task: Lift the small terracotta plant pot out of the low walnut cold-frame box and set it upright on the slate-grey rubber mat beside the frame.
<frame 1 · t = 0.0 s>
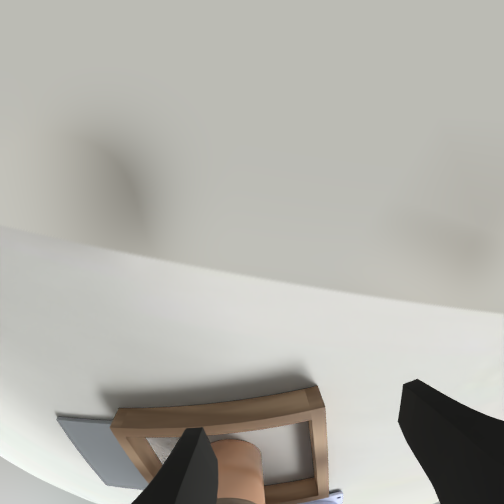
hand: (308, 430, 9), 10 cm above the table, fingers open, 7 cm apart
mat: (110, 456, 22), on the table
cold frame: (231, 457, 22), on the table
terracotta pot: (231, 494, 18), in the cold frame
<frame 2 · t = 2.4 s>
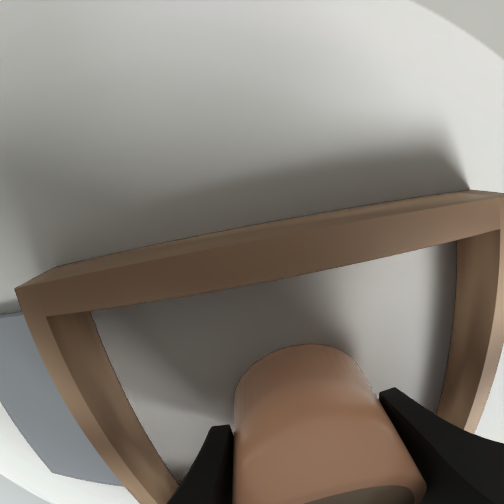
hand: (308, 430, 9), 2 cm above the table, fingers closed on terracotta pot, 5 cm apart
mat: (47, 411, 11), on the table
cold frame: (300, 399, 11), on the table
terracotta pot: (323, 485, 6), in the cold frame, touching gripper
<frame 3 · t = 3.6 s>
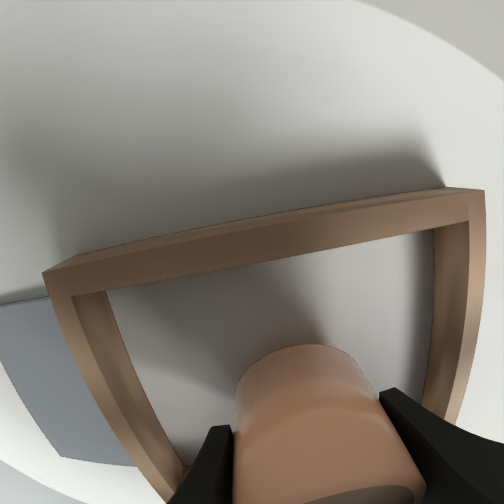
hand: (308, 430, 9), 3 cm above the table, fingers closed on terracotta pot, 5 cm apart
mat: (60, 393, 12), on the table
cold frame: (293, 374, 12), on the table
terracotta pot: (323, 485, 6), point 6 cm above the table, touching gripper
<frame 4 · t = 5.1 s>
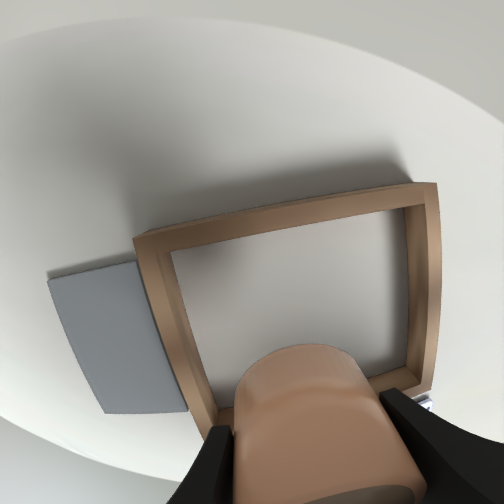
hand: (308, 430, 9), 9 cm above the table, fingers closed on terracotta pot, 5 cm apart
mat: (117, 348, 18), on the table
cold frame: (307, 318, 18), on the table
terracotta pot: (323, 485, 6), point 12 cm above the table, touching gripper
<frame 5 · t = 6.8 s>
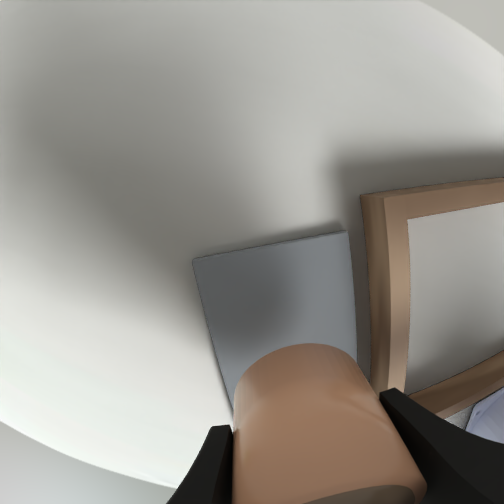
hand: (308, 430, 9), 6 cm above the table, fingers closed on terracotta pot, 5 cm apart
mat: (287, 349, 15), on the table
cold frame: (478, 294, 15), on the table
terracotta pot: (323, 485, 6), point 8 cm above the table, touching gripper
when the fingers open (3 cm above the table, at t = 7.9 s): terracotta pot drops 1 cm, resting on mat.
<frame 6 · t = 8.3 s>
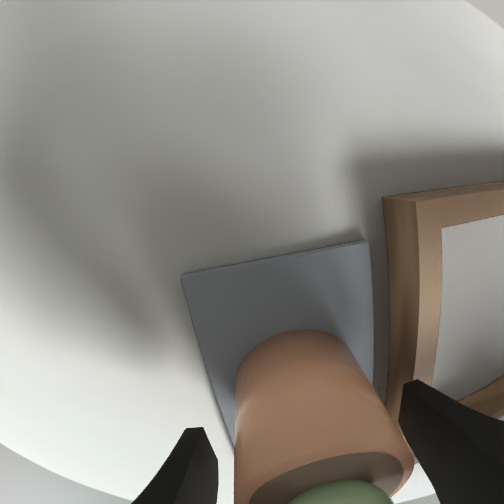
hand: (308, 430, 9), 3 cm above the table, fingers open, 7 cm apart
mat: (294, 376, 12), on the table
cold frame: (502, 307, 12), on the table
terracotta pot: (318, 459, 8), on the mat
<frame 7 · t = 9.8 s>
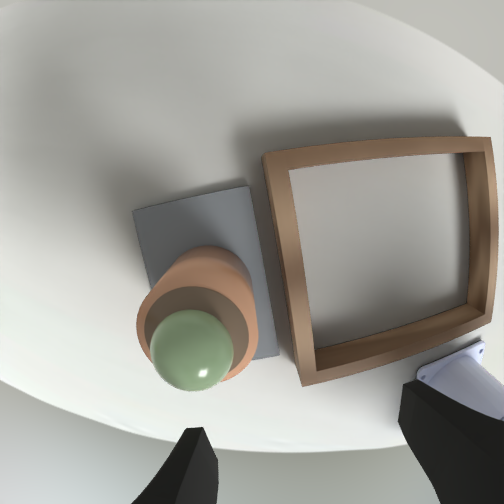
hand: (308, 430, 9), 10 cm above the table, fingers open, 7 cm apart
mat: (209, 286, 18), on the table
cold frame: (397, 248, 18), on the table
terracotta pot: (200, 319, 14), on the mat
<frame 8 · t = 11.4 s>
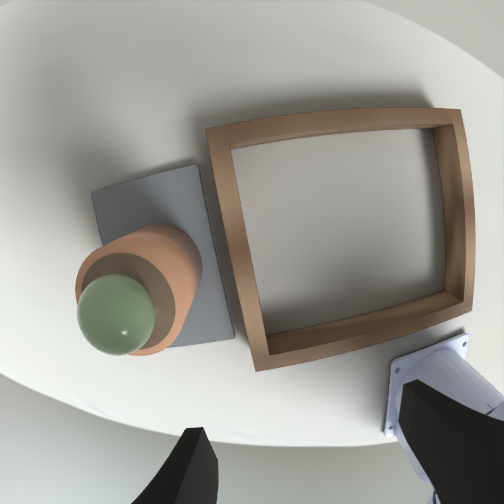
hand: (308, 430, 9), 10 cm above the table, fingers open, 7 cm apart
mat: (162, 265, 18), on the table
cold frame: (359, 228, 18), on the table
terracotta pot: (137, 290, 13), on the mat
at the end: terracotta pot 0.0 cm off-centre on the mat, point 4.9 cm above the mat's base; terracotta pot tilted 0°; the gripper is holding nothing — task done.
